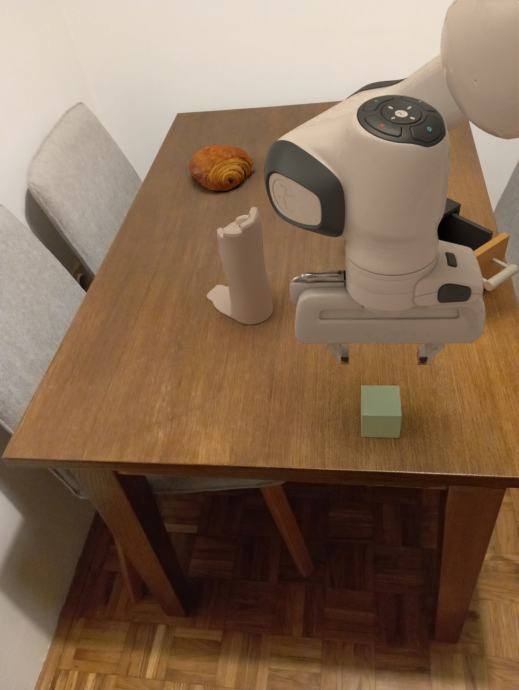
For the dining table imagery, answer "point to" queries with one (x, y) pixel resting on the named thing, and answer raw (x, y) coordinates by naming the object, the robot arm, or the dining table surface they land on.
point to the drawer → (479, 247)
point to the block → (380, 411)
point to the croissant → (220, 166)
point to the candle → (243, 272)
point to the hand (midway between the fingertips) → (382, 361)
